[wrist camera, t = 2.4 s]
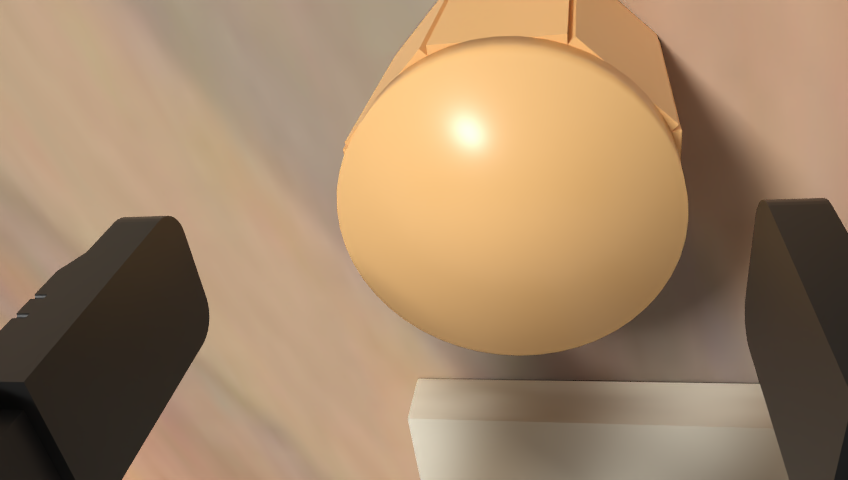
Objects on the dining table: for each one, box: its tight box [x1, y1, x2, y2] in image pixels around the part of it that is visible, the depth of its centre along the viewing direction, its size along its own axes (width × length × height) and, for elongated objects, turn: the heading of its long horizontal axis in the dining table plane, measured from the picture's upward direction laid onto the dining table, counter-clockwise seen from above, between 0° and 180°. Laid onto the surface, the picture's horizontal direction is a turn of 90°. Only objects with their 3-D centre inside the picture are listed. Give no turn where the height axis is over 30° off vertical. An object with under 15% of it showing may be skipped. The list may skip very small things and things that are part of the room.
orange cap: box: [337, 0, 688, 356], centre depth 14 cm, size 6×6×5 cm
